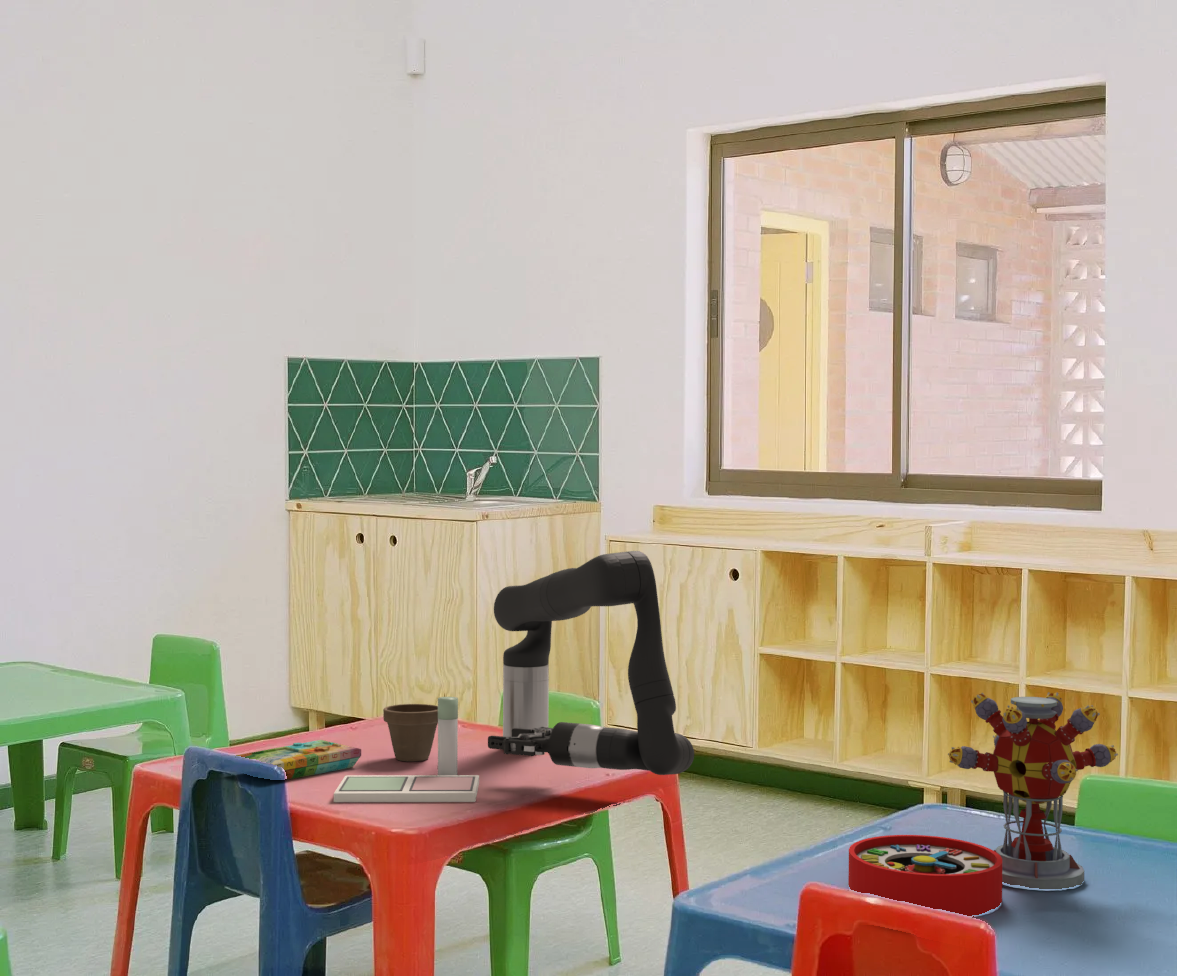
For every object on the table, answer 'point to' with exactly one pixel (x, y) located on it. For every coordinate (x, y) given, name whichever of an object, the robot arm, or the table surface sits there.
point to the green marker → (447, 735)
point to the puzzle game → (308, 757)
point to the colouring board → (407, 788)
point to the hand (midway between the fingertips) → (500, 737)
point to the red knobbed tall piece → (1034, 782)
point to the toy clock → (928, 872)
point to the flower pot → (411, 730)
